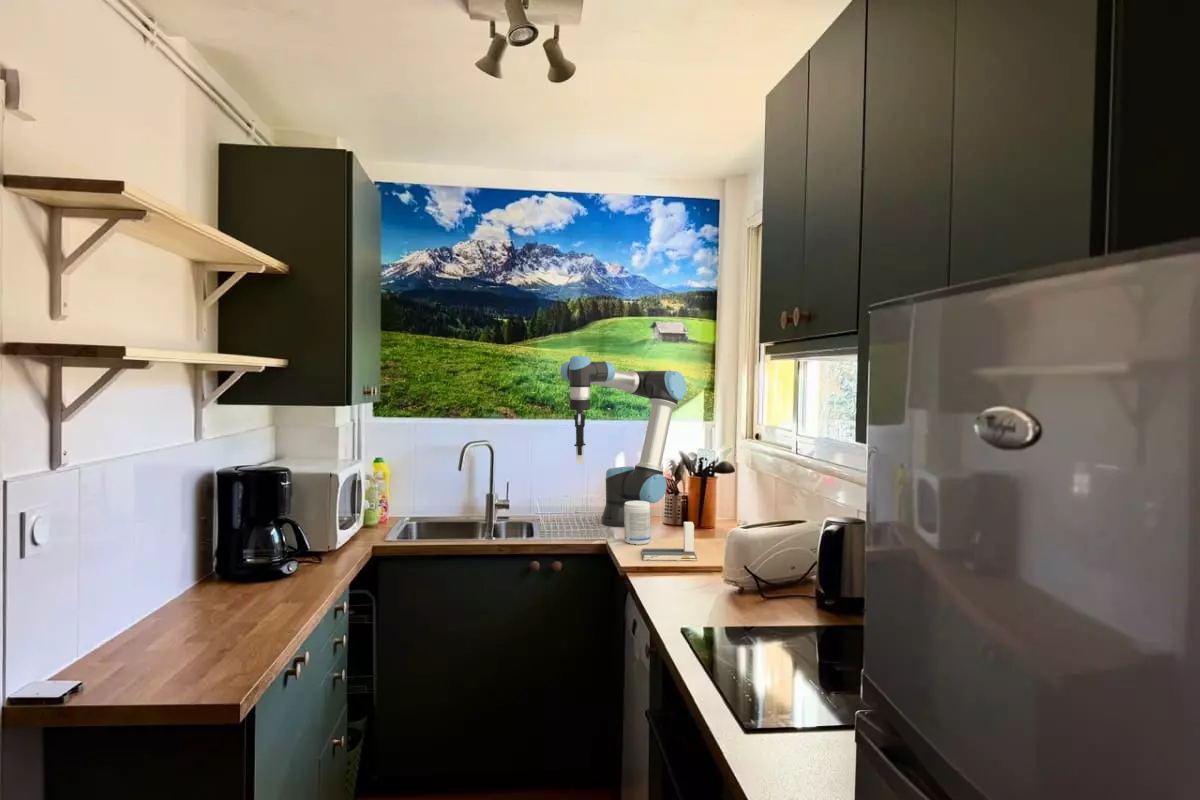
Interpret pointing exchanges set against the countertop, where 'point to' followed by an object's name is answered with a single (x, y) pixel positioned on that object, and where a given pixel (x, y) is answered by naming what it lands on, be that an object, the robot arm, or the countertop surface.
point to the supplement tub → (637, 522)
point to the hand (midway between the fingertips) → (579, 463)
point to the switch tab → (688, 537)
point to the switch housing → (668, 553)
